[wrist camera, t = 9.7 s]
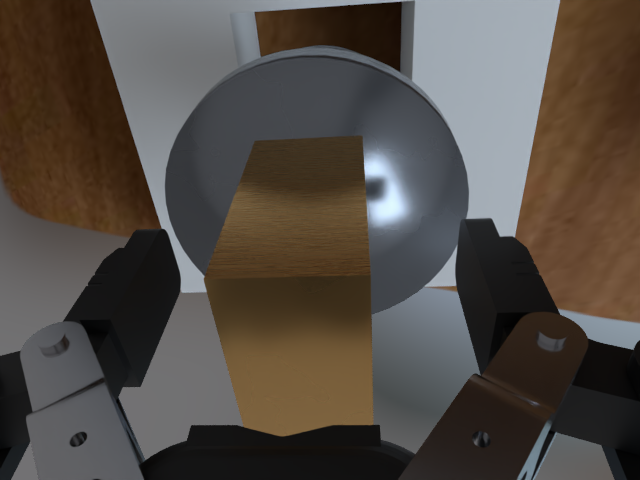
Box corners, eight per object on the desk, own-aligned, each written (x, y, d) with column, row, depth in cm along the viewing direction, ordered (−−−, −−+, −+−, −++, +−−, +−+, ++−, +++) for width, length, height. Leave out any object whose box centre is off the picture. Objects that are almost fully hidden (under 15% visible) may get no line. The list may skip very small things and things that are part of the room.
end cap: (189, 19, 18) (-13, 183, 8) (445, 1, 17) (582, 157, 7) (233, 228, 23) (146, 485, 13) (430, 221, 22) (497, 487, 12)
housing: (93, -197, 22) (21, -221, 17) (551, -246, 21) (615, -288, 16) (204, 237, 36) (181, 292, 31) (483, 228, 34) (505, 284, 29)
